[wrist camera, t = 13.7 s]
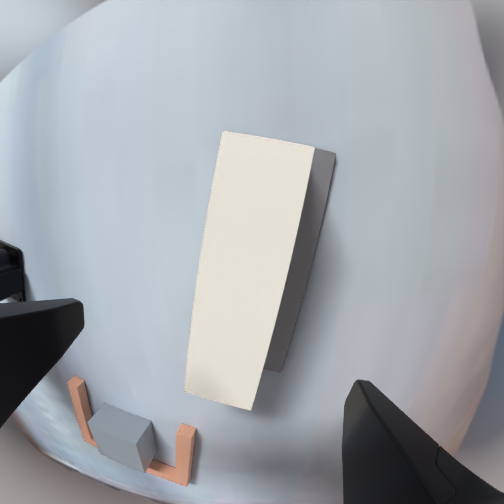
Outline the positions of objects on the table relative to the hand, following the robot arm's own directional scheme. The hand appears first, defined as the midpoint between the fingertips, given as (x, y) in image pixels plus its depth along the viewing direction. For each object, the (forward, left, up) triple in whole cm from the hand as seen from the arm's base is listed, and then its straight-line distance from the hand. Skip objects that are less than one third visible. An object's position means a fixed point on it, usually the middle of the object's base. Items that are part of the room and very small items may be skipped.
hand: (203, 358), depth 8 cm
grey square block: (-10, -23, -12) cm, 28 cm away
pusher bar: (0, 0, -11) cm, 11 cm away
